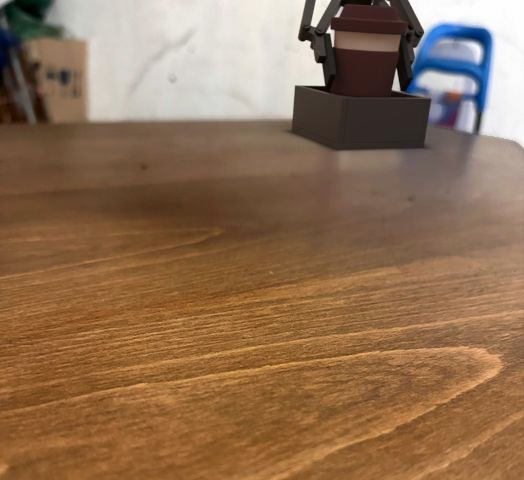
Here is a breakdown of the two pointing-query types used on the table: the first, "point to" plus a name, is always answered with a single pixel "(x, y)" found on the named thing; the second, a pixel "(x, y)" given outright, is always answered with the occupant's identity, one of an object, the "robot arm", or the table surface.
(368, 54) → the coffee cup
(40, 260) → the table surface
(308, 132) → the basket
